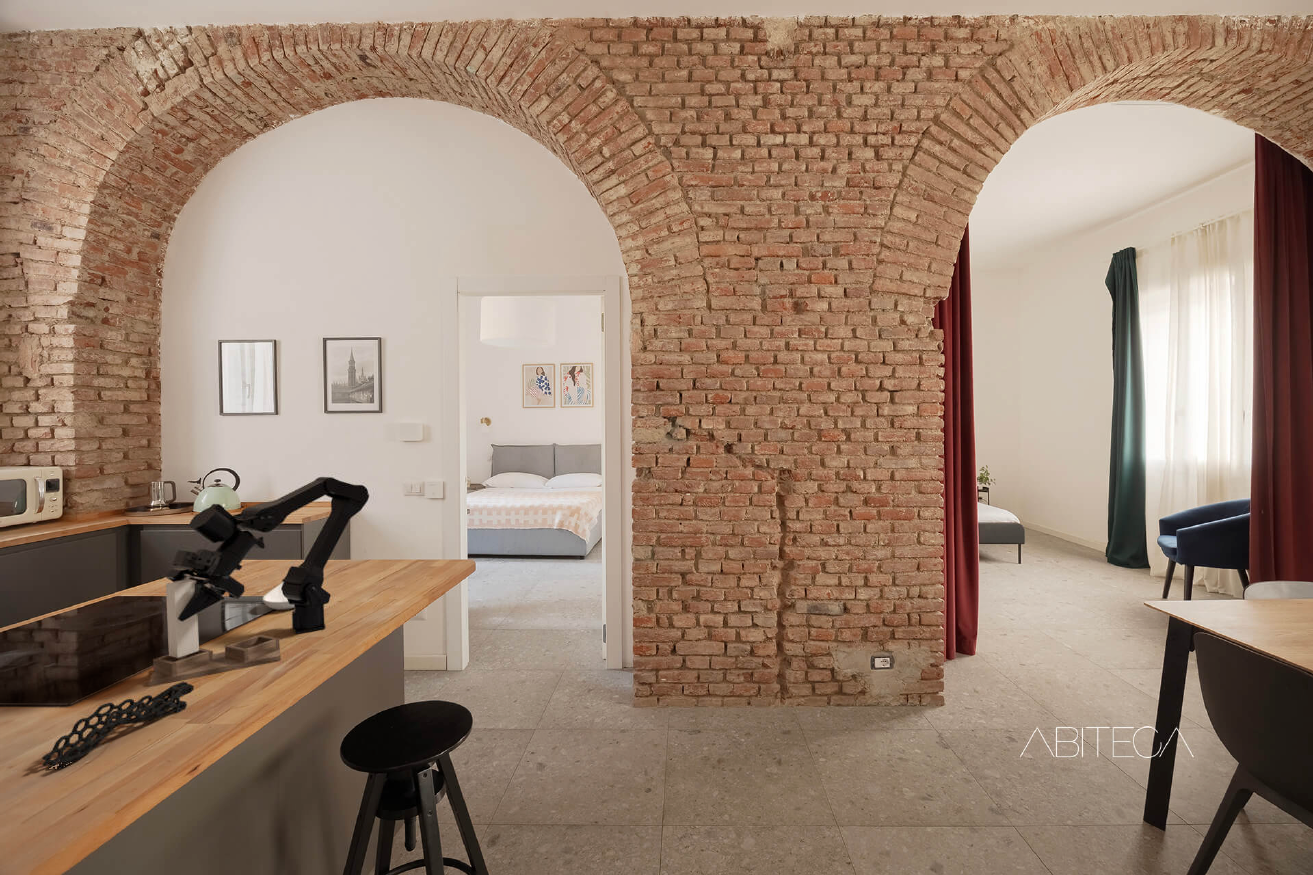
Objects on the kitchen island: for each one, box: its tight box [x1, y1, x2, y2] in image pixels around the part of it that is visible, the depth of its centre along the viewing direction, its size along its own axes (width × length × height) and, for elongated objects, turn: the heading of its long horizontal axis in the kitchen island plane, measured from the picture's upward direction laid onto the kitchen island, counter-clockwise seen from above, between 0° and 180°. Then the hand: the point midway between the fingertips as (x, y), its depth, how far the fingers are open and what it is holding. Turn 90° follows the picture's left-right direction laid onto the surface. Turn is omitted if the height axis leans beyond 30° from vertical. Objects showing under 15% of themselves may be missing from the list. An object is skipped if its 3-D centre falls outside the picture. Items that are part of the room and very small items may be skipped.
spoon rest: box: [261, 581, 294, 611], centre depth 176 cm, size 24×12×7 cm, turn 15°
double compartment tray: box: [149, 634, 282, 687], centre depth 129 cm, size 22×10×4 cm, turn 124°
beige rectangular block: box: [165, 579, 200, 658], centre depth 126 cm, size 4×3×15 cm
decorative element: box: [41, 681, 195, 769], centre depth 101 cm, size 22×5×6 cm, turn 172°
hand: (175, 619), depth 124 cm, fingers closed on beige rectangular block, 3 cm apart
